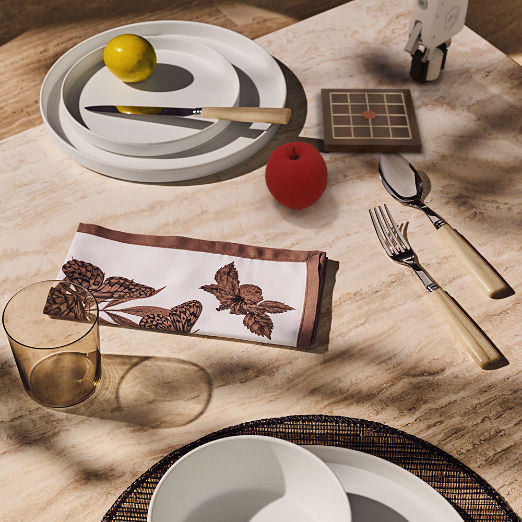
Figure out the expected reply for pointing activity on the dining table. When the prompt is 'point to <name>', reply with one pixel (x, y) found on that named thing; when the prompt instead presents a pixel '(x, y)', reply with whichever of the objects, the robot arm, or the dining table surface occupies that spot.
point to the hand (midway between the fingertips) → (426, 71)
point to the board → (369, 121)
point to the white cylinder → (434, 63)
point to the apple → (296, 175)
